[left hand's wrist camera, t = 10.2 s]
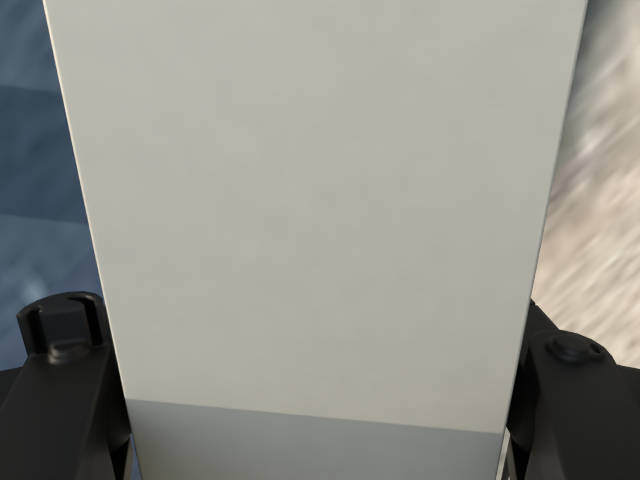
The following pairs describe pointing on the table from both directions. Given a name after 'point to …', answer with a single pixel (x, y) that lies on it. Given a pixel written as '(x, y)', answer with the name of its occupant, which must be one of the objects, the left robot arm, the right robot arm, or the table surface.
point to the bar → (316, 222)
